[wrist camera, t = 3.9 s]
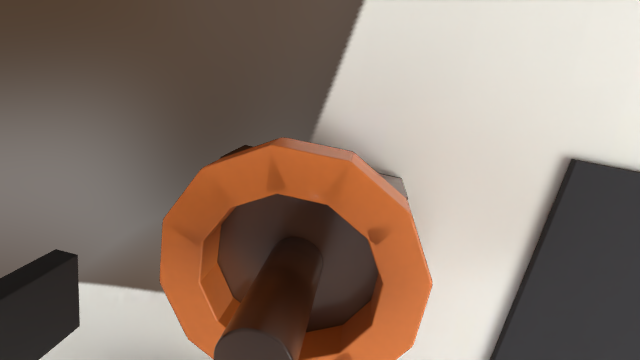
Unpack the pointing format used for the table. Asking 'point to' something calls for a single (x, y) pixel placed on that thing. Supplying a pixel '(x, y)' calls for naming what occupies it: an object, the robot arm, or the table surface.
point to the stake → (290, 274)
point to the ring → (313, 185)
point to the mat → (582, 274)
